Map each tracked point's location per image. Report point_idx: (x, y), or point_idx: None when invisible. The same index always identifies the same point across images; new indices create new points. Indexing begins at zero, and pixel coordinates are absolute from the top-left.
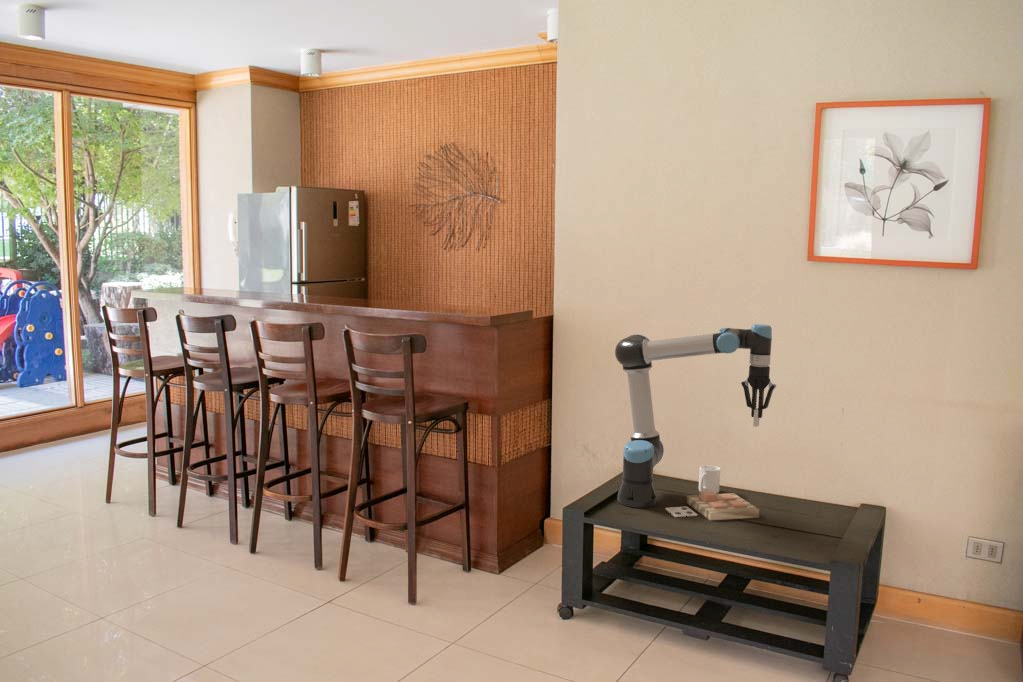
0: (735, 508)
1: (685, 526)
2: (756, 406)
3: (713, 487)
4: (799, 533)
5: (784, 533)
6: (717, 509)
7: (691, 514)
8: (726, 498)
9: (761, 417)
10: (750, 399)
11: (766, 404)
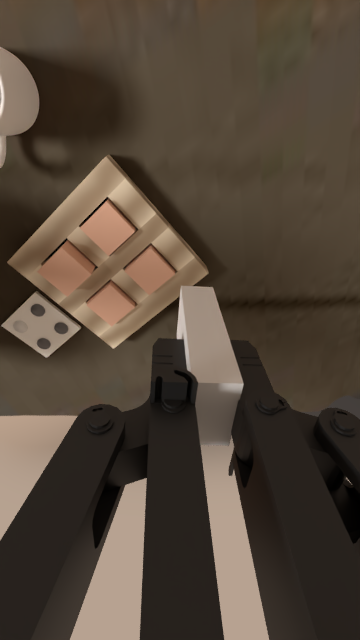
0: (153, 295)
1: (89, 386)
2: (194, 386)
3: (24, 126)
4: (296, 318)
5: (267, 332)
6: (119, 323)
7: (70, 335)
8: (113, 251)
9: (246, 347)
10: (91, 517)
11: (357, 522)
